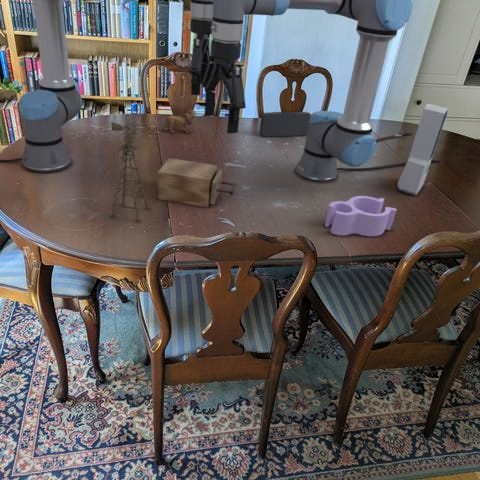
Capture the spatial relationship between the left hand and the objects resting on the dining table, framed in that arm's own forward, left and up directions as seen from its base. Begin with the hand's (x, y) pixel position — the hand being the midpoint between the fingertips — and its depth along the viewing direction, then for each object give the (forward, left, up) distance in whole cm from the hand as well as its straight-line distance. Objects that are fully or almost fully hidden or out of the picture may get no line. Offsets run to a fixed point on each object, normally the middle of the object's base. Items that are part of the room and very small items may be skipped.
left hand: (199, 89), depth 153 cm
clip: (+55, -26, -28) cm, 68 cm away
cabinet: (+2, -22, -28) cm, 35 cm away
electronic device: (+78, +8, -28) cm, 83 cm away
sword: (+79, +60, -28) cm, 103 cm away
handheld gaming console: (+30, +46, -28) cm, 61 cm away
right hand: (+12, -31, 0) cm, 33 cm away
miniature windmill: (-12, -37, -28) cm, 48 cm away
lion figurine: (-14, +34, -28) cm, 46 cm away
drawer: (+7, -22, -27) cm, 35 cm away
